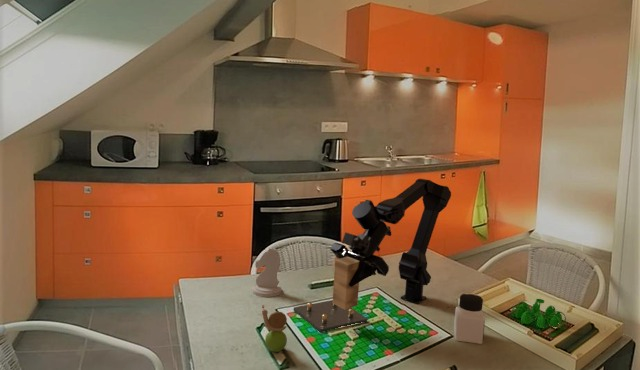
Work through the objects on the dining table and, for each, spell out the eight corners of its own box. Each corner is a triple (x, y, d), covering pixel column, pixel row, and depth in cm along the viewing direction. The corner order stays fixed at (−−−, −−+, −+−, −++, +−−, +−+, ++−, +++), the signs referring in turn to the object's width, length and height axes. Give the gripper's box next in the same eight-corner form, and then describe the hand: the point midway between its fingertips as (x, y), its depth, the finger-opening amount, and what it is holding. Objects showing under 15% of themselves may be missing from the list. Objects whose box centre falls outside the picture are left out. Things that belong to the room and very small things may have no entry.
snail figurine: (261, 345, 124) (262, 301, 122) (286, 345, 125) (287, 301, 123) (260, 356, 119) (261, 310, 117) (286, 355, 119) (288, 310, 117)
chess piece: (256, 285, 166) (256, 242, 163) (284, 287, 165) (285, 244, 162) (249, 295, 156) (249, 251, 154) (278, 298, 155) (280, 253, 153)
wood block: (345, 299, 140) (347, 256, 138) (357, 305, 136) (360, 261, 134) (332, 303, 137) (335, 259, 134) (344, 309, 133) (347, 265, 131)
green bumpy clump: (569, 337, 137) (572, 314, 136) (513, 328, 141) (515, 305, 140) (560, 316, 151) (562, 295, 150) (509, 308, 155) (511, 288, 154)
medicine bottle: (482, 344, 130) (487, 302, 128) (455, 341, 131) (459, 299, 129) (479, 332, 136) (483, 292, 135) (453, 329, 138) (457, 289, 136)
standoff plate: (338, 301, 154) (338, 293, 153) (367, 322, 140) (367, 312, 140) (293, 310, 146) (293, 301, 146) (319, 332, 132) (320, 322, 132)
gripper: (336, 215, 142) (306, 258, 136) (384, 229, 128) (354, 277, 123) (353, 237, 149) (325, 279, 143) (401, 252, 135) (372, 299, 129)
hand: (342, 283), depth 134 cm, fingers closed on wood block, 5 cm apart
